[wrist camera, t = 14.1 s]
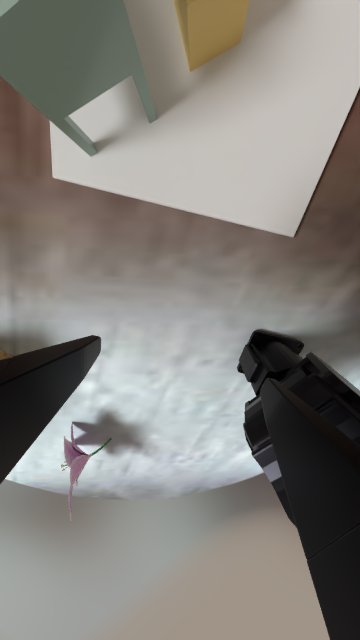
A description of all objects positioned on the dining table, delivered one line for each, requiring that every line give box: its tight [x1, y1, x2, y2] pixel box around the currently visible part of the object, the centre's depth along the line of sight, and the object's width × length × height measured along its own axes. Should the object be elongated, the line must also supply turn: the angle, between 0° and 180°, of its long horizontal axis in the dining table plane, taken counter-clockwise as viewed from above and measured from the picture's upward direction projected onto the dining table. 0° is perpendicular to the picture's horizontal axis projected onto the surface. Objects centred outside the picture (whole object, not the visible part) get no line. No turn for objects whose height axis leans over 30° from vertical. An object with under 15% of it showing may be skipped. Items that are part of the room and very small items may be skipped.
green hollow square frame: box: [0, 0, 158, 157], centre depth 10 cm, size 7×7×10 cm
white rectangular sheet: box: [50, 0, 360, 237], centre depth 14 cm, size 25×20×1 cm
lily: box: [61, 426, 111, 518], centre depth 30 cm, size 12×12×10 cm
